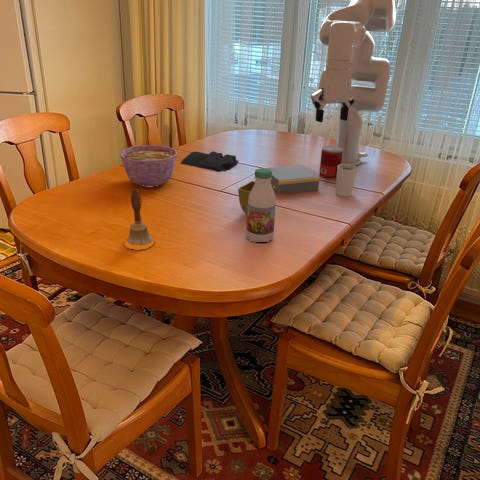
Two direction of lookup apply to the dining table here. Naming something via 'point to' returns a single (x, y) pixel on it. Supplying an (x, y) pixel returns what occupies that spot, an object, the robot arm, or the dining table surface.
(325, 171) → the canned food
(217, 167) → the dark slate chunk
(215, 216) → the dining table surface
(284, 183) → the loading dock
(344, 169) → the white cup
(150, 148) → the bowl of food
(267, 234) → the milk bottle
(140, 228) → the hand bell
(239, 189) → the flower pot
